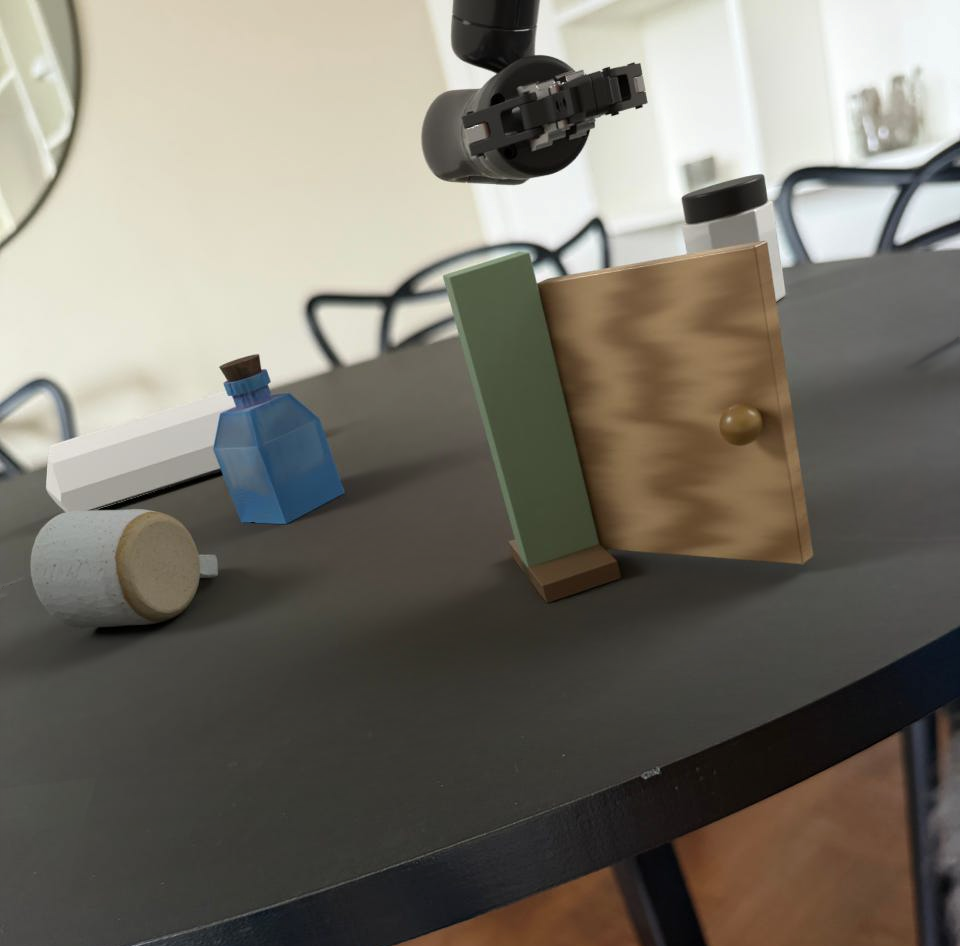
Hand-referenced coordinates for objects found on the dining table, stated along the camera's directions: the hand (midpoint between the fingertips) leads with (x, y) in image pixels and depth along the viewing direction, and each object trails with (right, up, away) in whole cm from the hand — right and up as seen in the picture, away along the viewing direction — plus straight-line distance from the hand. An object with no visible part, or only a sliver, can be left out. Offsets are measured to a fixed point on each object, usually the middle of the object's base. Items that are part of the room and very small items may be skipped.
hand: (594, 94), depth 59 cm
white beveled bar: (-38, -16, +46) cm, 61 cm away
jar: (+21, +3, +47) cm, 51 cm away
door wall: (-2, -28, -4) cm, 28 cm away
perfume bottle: (-22, -21, +24) cm, 38 cm away
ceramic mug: (-28, -30, +9) cm, 42 cm away
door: (+4, -28, -9) cm, 29 cm away
